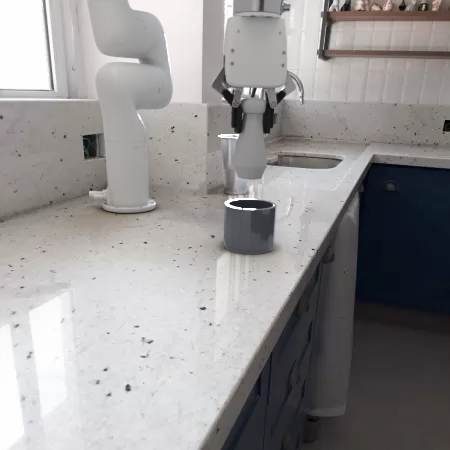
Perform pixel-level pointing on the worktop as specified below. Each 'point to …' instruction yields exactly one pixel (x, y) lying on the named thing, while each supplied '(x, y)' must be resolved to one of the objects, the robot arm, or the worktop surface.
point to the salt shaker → (251, 141)
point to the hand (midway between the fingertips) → (251, 131)
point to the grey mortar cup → (249, 226)
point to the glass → (232, 163)
